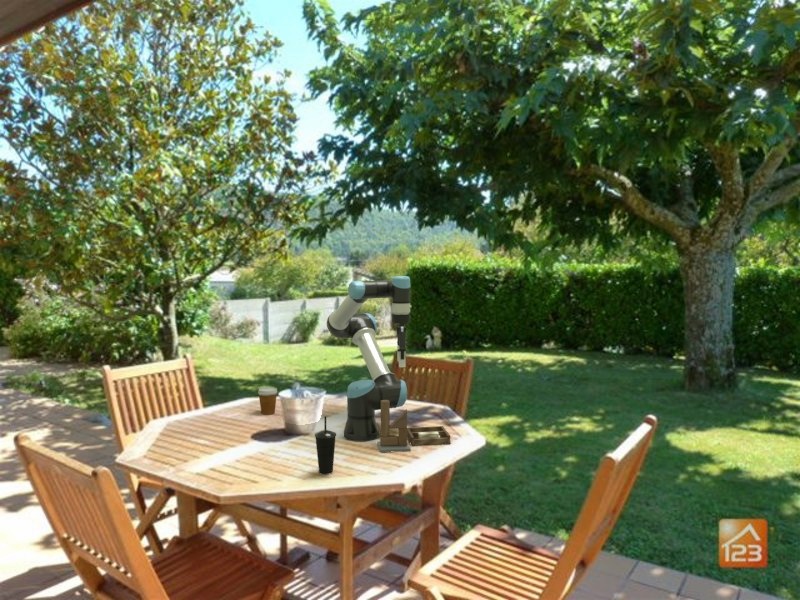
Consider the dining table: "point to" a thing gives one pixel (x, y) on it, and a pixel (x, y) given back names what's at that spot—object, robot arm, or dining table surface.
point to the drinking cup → (325, 449)
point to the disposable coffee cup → (267, 400)
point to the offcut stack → (428, 435)
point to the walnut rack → (413, 438)
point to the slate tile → (393, 448)
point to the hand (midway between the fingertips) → (401, 364)
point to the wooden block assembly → (385, 427)
